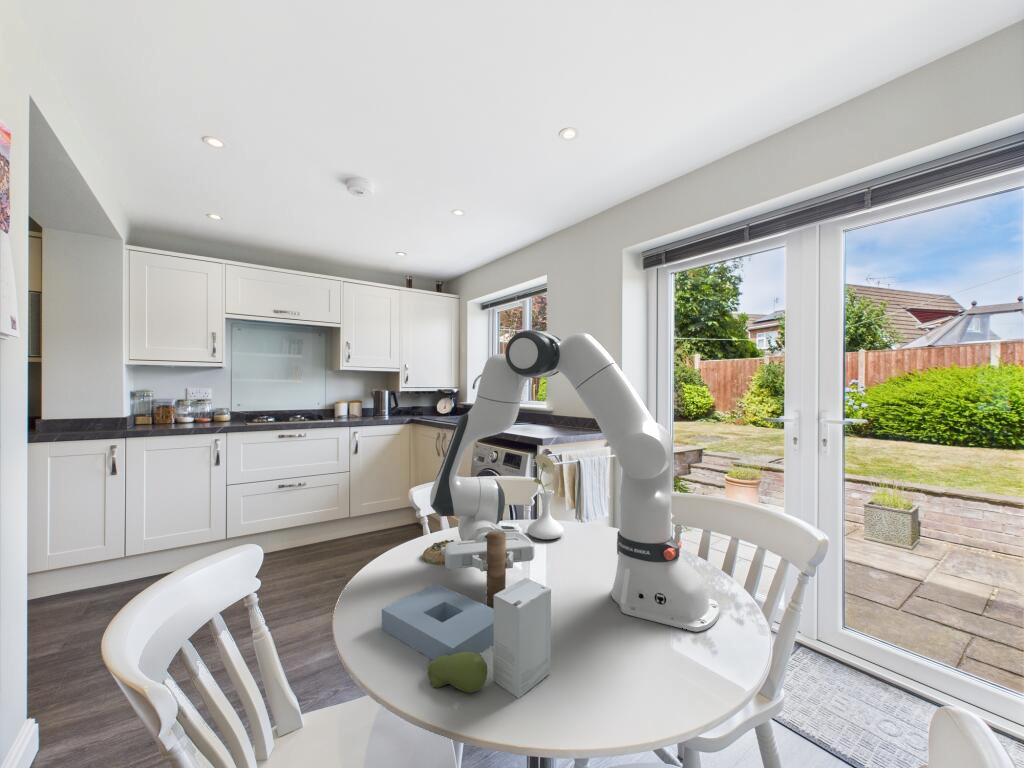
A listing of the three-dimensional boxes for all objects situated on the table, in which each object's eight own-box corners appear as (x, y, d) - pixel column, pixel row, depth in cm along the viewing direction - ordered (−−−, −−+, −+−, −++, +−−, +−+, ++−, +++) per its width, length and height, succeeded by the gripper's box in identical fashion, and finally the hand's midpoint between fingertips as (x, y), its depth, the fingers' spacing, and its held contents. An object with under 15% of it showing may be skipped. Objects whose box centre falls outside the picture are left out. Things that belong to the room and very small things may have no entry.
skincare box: (525, 659, 80) (526, 575, 80) (552, 675, 76) (553, 586, 76) (490, 683, 74) (491, 592, 74) (518, 701, 70) (519, 605, 70)
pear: (476, 666, 70) (418, 663, 73) (481, 702, 69) (424, 697, 73) (489, 645, 75) (436, 644, 78) (495, 678, 75) (440, 675, 78)
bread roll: (450, 545, 133) (451, 529, 132) (471, 563, 124) (472, 546, 124) (415, 556, 126) (416, 539, 125) (435, 575, 118) (435, 557, 117)
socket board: (506, 635, 88) (506, 614, 88) (452, 671, 77) (452, 648, 77) (436, 601, 100) (436, 583, 100) (381, 629, 90) (381, 608, 89)
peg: (509, 608, 98) (509, 533, 97) (496, 616, 95) (497, 539, 94) (495, 602, 100) (495, 529, 100) (482, 609, 97) (482, 534, 97)
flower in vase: (571, 540, 138) (571, 457, 137) (536, 545, 134) (537, 459, 133) (551, 526, 150) (552, 450, 150) (519, 530, 146) (519, 452, 145)
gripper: (439, 533, 107) (447, 556, 93) (523, 526, 112) (542, 546, 99) (439, 560, 107) (447, 587, 94) (523, 551, 112) (542, 575, 99)
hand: (497, 566), depth 96 cm, fingers closed on peg, 4 cm apart
